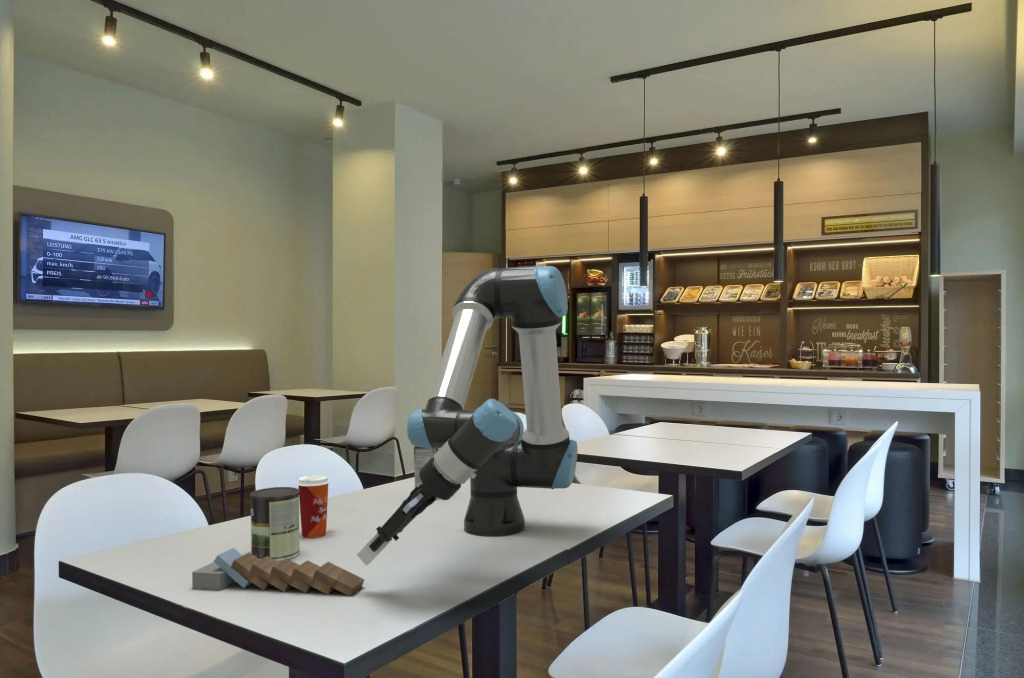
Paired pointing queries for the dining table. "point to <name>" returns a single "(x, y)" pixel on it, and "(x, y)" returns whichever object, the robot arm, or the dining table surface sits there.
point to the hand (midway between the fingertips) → (363, 559)
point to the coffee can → (275, 523)
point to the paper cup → (313, 505)
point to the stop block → (211, 578)
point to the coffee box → (421, 461)
